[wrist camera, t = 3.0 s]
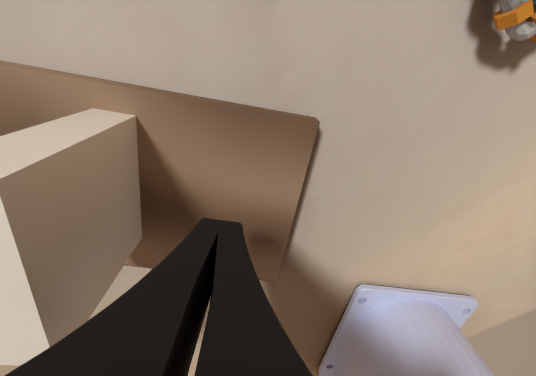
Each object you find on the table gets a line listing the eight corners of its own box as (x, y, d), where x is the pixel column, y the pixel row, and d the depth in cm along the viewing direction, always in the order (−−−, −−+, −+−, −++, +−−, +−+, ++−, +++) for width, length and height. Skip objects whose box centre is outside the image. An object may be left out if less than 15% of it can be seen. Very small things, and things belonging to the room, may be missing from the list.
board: (276, 271, 15) (276, 281, 14) (-113, 227, 13) (-135, 237, 12) (315, 117, 11) (319, 121, 10) (-237, 18, 9) (-280, 14, 8)
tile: (141, 237, 13) (55, 368, 7) (107, 233, 12) (-7, 363, 7) (136, 115, 10) (-5, 181, 5) (91, 107, 10) (-108, 166, 5)
